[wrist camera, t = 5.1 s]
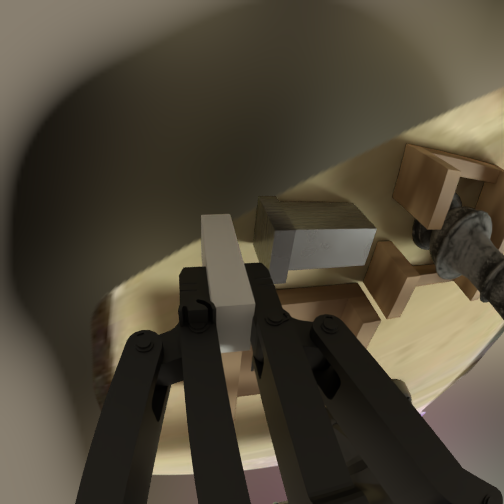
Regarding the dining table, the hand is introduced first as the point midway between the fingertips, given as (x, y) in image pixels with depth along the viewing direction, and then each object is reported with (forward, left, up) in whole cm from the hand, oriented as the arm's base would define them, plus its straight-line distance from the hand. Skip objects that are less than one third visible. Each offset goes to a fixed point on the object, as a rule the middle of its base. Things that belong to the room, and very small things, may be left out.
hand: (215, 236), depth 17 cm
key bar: (0, -5, -1) cm, 6 cm away
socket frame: (0, -17, -1) cm, 17 cm away
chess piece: (0, -17, -2) cm, 17 cm away
